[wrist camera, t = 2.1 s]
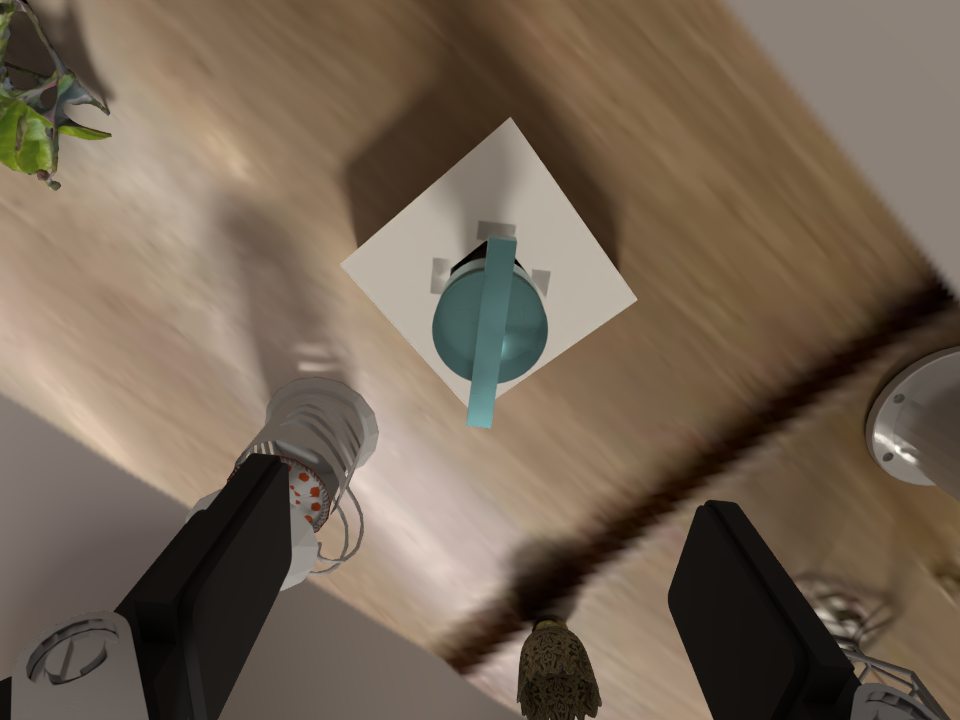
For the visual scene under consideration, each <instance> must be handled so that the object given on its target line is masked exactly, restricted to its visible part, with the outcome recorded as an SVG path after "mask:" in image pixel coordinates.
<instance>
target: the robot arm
mask: <svg viewBox="0 0 960 720" xmlns="http://www.w3.org/2000/svg"><path fill="white" fill-rule="evenodd" d="M866 443H867V448H868V450H869V452H870V454H871V456H872V458H873V459H874V461H875V462H876V463H877V464H878V465H879V466H880V467H881V468H882V469H884V470H885V471H886V472H888V473H889V474H890V475H891V476H893V477H895V478H897V479H899V480H901V481H904V482H907V483H911V484H915V485H926V486H932V485H938V486H939V487H940V488H942V489H943V490H944V491H946V492H947V493H948V494H950V495H951V496H952V497H954V498H955V499H957V500H958V501H959V502H960V346H957V347H953V348H948V349H944V350H941V351H938V352H936V353H933V354H931V355H928V356H926V357H924V358H922V359H920V360H919V361H917V362H915V363H913V364H911V365H910V366H909V367H907V368H906V369H905V370H903V371H902V372H901V373H899V374H898V375H897V376H896V377H895V378H894V379H893V380H892V381H891V382H890V383H889V384H888V385H887V386H886V387H885V388H884V389H883V391H882V392H881V394H880V395H879V396H878V398H877V399H876V401H875V403H874V405H873V407H872V409H871V411H870V413H869V417H868V420H867V424H866ZM291 561H292V540H291V516H290V491H289V468H288V464H287V463H282V462H281V459H280V457H279V456H278V455H269V454H259V453H252V454H250V455H249V456H248V458H247V459H246V460H245V461H244V463H243V464H242V465H241V466H240V468H239V469H238V470H237V471H236V473H235V474H234V475H233V476H232V478H231V479H230V480H229V481H228V483H227V484H226V485H225V486H224V488H223V489H222V490H221V491H220V493H219V494H218V495H217V497H216V498H215V499H214V500H213V502H212V503H211V504H210V505H209V507H208V508H207V509H206V510H205V509H201V510H199V511H197V512H196V513H195V514H194V515H193V516H192V517H191V518H190V519H189V520H188V522H187V523H186V524H185V525H184V526H183V528H182V529H181V530H180V531H179V533H178V534H177V535H176V536H175V537H174V539H173V540H172V541H171V542H170V543H169V545H168V546H167V547H166V548H165V550H164V551H163V552H162V553H161V555H160V556H159V557H158V558H157V559H156V561H155V562H154V563H153V564H152V565H151V567H150V568H149V569H148V570H147V571H146V573H145V574H144V575H143V576H142V578H141V579H140V580H139V581H138V582H137V584H136V585H135V586H134V587H133V589H132V590H131V591H130V592H129V593H128V595H127V596H126V597H125V598H124V600H123V601H122V602H121V603H120V604H119V606H118V607H117V608H116V609H115V610H114V612H108V611H96V612H87V613H84V614H80V615H77V616H74V617H70V618H69V619H66V620H64V621H62V622H60V623H58V624H55V625H54V626H52V627H51V628H49V629H48V630H46V631H45V632H43V633H42V634H40V635H39V636H38V637H37V638H35V640H33V641H32V642H31V643H30V644H29V645H28V646H27V647H26V648H25V649H24V650H23V652H22V653H21V655H20V656H19V658H18V660H17V661H16V663H15V666H14V670H13V674H12V676H11V677H8V678H6V679H4V680H2V681H0V720H217V719H218V718H219V716H220V713H221V711H222V709H223V707H224V705H225V703H226V701H227V699H228V697H229V695H230V692H231V691H232V689H233V687H234V684H235V682H236V680H237V678H238V676H239V674H240V672H241V670H242V668H243V666H244V664H245V662H246V659H247V657H248V655H249V653H250V651H251V649H252V647H253V645H254V643H255V641H256V639H257V637H258V634H259V632H260V630H261V628H262V626H263V624H264V622H265V620H266V618H267V616H268V614H269V612H270V609H271V607H272V605H273V603H274V601H275V599H276V597H277V595H278V593H279V591H280V589H281V587H282V585H283V582H284V580H285V578H286V576H287V574H288V572H289V569H290V566H291ZM668 605H669V609H670V612H671V614H672V617H673V619H674V622H675V624H676V627H677V629H678V632H679V634H680V637H681V639H682V642H683V644H684V647H685V649H686V652H687V654H688V657H689V659H690V662H691V664H692V667H693V669H694V672H695V674H696V677H697V679H698V682H699V684H700V687H701V689H702V692H703V694H704V697H705V699H706V702H707V704H708V707H709V709H710V712H711V714H712V717H713V719H714V720H940V719H939V718H938V717H937V716H936V715H935V714H934V713H933V712H931V711H930V710H929V709H928V708H927V707H926V706H924V705H923V704H922V703H920V702H919V701H917V700H916V699H914V698H913V697H911V696H909V695H908V694H906V693H904V692H902V691H900V690H898V689H896V688H893V687H891V686H887V685H884V684H880V683H865V684H863V685H862V684H861V682H860V681H859V679H858V678H857V677H856V675H855V674H854V672H853V671H854V669H855V667H854V666H853V665H852V663H851V662H850V661H849V659H848V658H847V656H846V655H845V654H844V652H843V651H842V649H841V648H840V647H839V645H838V644H837V642H836V641H835V640H834V638H833V637H832V635H831V634H830V633H829V631H828V630H827V628H826V627H825V626H824V624H823V623H822V621H821V620H820V619H819V617H818V616H817V614H816V613H815V612H814V610H813V609H812V607H811V606H810V605H809V603H808V602H807V600H806V599H805V598H804V596H803V595H802V593H801V592H800V591H799V589H798V588H797V586H796V585H795V584H794V582H793V581H792V579H791V578H790V577H789V575H788V574H787V572H786V571H785V570H784V568H783V567H782V565H781V564H780V563H779V561H778V560H777V558H776V557H775V556H774V554H773V553H772V551H771V550H770V549H769V547H768V546H767V544H766V543H765V542H764V540H763V539H762V537H761V536H760V535H759V533H758V532H757V530H756V529H755V528H754V526H753V525H752V523H751V522H750V521H749V519H748V518H747V517H746V515H745V514H744V512H743V511H742V510H741V508H740V507H739V506H738V505H737V504H736V503H734V502H727V501H717V500H708V501H707V502H706V503H705V504H704V506H703V505H701V506H699V507H698V508H697V510H696V513H695V516H694V519H693V521H692V524H691V527H690V530H689V533H688V536H687V539H686V542H685V545H684V548H683V551H682V554H681V557H680V560H679V563H678V565H677V568H676V571H675V574H674V577H673V580H672V583H671V586H670V589H669V593H668Z"/></svg>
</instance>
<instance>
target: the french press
mask: <svg viewBox="0 0 960 720" xmlns="http://www.w3.org/2000/svg"><path fill="white" fill-rule="evenodd" d="M378 434H379V431H378V427H377V423H376V419H375V415H374V412H373V411H372V409H371V408H370V407H369V405H368V404H367V403H366V401H365V400H364V399H363V397H362V396H361V395H360V394H358V393H357V392H355V391H354V390H352V389H351V388H349V387H347V386H346V385H344V384H343V383H341V382H337V381H333V380H329V379H325V378H320V377H315V378H306V379H298V380H295V381H293V382H291V383H289V384H288V385H286V386H284V387H283V388H281V389H279V390H278V391H277V392H276V394H275V395H274V397H273V398H272V400H271V401H270V403H269V404H268V406H267V412H266V421H265V426H264V428H263V429H262V430H261V431H260V432H259V434H258V435H257V436H256V437H255V438H254V440H253V441H252V442H251V443H250V444H249V446H248V447H247V448H246V449H245V451H244V452H243V453H242V454H241V456H240V457H239V458H238V460H237V461H236V463H235V467H234V470H233V472H232V473H231V475H230V476H229V478H228V479H227V483H228V481H229V480H230V479H231V478H232V476H233V475H234V474H235V473H236V471H237V470H238V469H239V468H240V466H241V465H242V464H243V463H244V461H245V460H246V455H247V454H248V453H249V452H250V454H252V453H254V445H256V444H257V453H259V454H262V449H261V443H263V442H264V447H265V452H266V454H269V455H271V453H270V449H269V444H268V441H271V444H272V448H273V452H274V455H278V456H279V457H280V459H281V462H282V463H287V464H288V468H289V491H290V516H291V540H292V561H291V566H290V569H289V572H288V574H287V576H286V578H285V580H284V582H283V585H282V587H281V589H280V591H282V590H285V589H287V588H289V587H291V586H293V585H296V584H298V583H300V582H302V581H303V580H304V578H305V577H306V576H307V575H308V574H310V575H314V576H320V575H325V574H329V573H330V572H332V571H333V570H335V569H336V568H337V567H338V566H339V565H340V564H341V563H342V562H345V561H346V560H348V559H349V558H350V557H351V556H353V555H354V554H355V553H356V552H357V550H358V549H359V547H360V544H361V540H362V537H363V533H364V525H363V514H362V511H361V509H360V506H359V503H358V501H357V500H356V498H355V496H354V495H353V493H352V492H351V490H350V488H349V482H350V480H351V477H352V475H353V472H354V470H355V469H357V468H359V467H361V466H363V465H364V464H365V462H366V461H367V460H368V459H369V457H370V456H371V455H372V454H373V452H374V451H375V448H376V443H377V439H378ZM347 473H348V475H347V478H346V476H345V474H347ZM339 486H340V494H339V496H338V498H337V501H336V500H335V495H336V492H337V490H338V488H339ZM345 488H346V490H347V492H348V493H349V495H350V497H351V498H352V500H353V502H354V503H355V506H356V508H357V510H358V512H359V515H360V522H361V528H360V535H359V538H358V542H357V545H356V547H355V549H354V550H353V551H352V552H351V553H350V554H349V555H347V556H346V557H344V556H345V553H346V551H347V548H348V524H347V521H346V518H345V515H344V513H343V511H342V510H341V508H340V506H339V505H338V504H339V502H340V500H341V497H342V495H343V493H344V491H345ZM221 490H222V489H220V490H218V491H216V492H214V493H212V494H210V495H208V496H206V497H204V498H202V499H200V500H199V501H198V502H197V503H196V505H195V506H194V507H193V509H192V510H191V511H190V513H189V514H188V515H187V517H186V523H187V522H188V520H189V519H190V518H191V517H192V516H193V515H194V514H195V513H196V512H197V511H199V510H201V509H205V510H206V509H207V508H208V507H209V505H210V504H211V503H212V502H213V500H214V499H215V498H216V497H217V495H218V494H219V493H220V491H221ZM332 501H333V502H334V504H335V505H334V507H333V510H332V512H331V514H332V513H333V512H334V510H335V509H336V508H337V510H338V511H339V513H340V515H341V518H342V520H343V522H344V525H345V547H344V550H343V552H342V555H341V557H340V559H335V560H330V559H327V558H323V557H322V556H321V555H320V549H321V546H322V543H321V542H317V539H316V536H315V533H316V532H318V531H319V529H320V528H321V527H322V526H323V524H324V523H325V522H326V521H327V519H328V517H329V511H330V505H331V502H332ZM331 514H330V515H331ZM316 558H318V559H319V560H320V561H321V562H327V563H332V564H335V565H333V566H332V567H331V568H329V569H328V570H324V571H319V572H313V571H311V570H312V569H313V568H314V567H315V562H316Z"/></svg>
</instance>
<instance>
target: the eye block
mask: <svg viewBox="0 0 960 720" xmlns="http://www.w3.org/2000/svg"><path fill="white" fill-rule="evenodd" d="M489 234H493V235H502V236H510V237H516V239H517V248H516V255H515V258H516V259H517V260H518V262H519V263H520V264H521V266H522V267H523V268H524V270H525V272H526V273H527V274H528V275H529V276H530V277H531V279H532V280H533V282H534V284H535V286H536V288H537V290H538V293H539V296H540V299H541V302H542V304H543V307H544V310H545V313H546V316H547V322H548V337H547V342H546V346H545V348H544V351H543V353H542V355H541V356H540V358H539V360H538V361H537V362H536V364H535V365H534V366H533V367H532V368H531V369H530V370H528V371H527V372H526V373H525V374H523V375H521V376H520V377H518V378H516V379H514V380H511V381H508V382H505V383H500V384H497V389H496V396H495V399H496V398H497V397H499V396H500V395H502V394H503V393H505V392H506V391H508V390H509V389H510V388H512V387H513V386H515V385H516V384H518V383H519V382H520V381H522V380H523V379H525V378H526V377H528V376H529V375H531V374H532V373H533V372H535V371H536V370H538V369H539V368H541V367H542V366H543V365H545V364H546V363H548V362H549V361H551V360H552V359H554V358H555V357H556V356H558V355H559V354H561V353H562V352H564V351H565V350H566V349H568V348H569V347H571V346H572V345H574V344H575V343H577V342H578V341H579V340H581V339H582V338H584V337H585V336H587V335H588V334H589V333H591V332H592V331H594V330H595V329H597V328H598V327H600V326H601V325H602V324H604V323H605V322H607V321H608V320H610V319H611V318H612V317H614V316H615V315H617V314H618V313H620V312H621V311H623V310H624V309H625V308H627V307H628V306H630V305H631V304H633V303H634V302H635V301H637V298H636V297H635V295H634V294H633V292H632V291H631V290H630V288H629V287H628V285H627V284H626V282H625V281H624V279H623V278H622V277H621V275H620V274H619V272H618V271H617V269H616V268H615V267H614V265H613V264H612V262H611V261H610V259H609V258H608V256H607V255H606V254H605V252H604V251H603V249H602V248H601V246H600V245H599V243H598V242H597V241H596V239H595V238H594V236H593V235H592V233H591V232H590V231H589V229H588V228H587V226H586V225H585V223H584V222H583V220H582V219H581V218H580V216H579V215H578V213H577V212H576V210H575V209H574V208H573V206H572V205H571V203H570V202H569V200H568V199H567V197H566V196H565V195H564V193H563V192H562V190H561V189H560V187H559V186H558V184H557V183H556V182H555V180H554V179H553V177H552V176H551V174H550V173H549V172H548V170H547V169H546V167H545V166H544V164H543V163H542V161H541V160H540V159H539V157H538V156H537V154H536V153H535V151H534V150H533V149H532V147H531V146H530V144H529V143H528V141H527V140H526V138H525V137H524V136H523V134H522V133H521V131H520V130H519V128H518V127H517V125H516V124H515V123H514V121H513V120H512V118H511V117H510V118H509V119H507V120H506V121H505V122H504V123H503V124H502V125H501V126H499V127H498V128H497V129H496V130H495V131H494V132H492V133H491V134H490V135H489V136H488V137H487V138H486V139H484V140H483V141H482V142H481V143H480V144H479V145H477V146H476V147H475V148H474V149H473V150H472V151H470V152H469V153H468V154H467V155H466V156H465V157H464V158H462V159H461V160H460V161H459V162H458V163H457V164H455V165H454V166H453V167H452V168H451V169H450V170H449V171H447V172H446V173H445V174H444V175H443V176H442V177H440V178H439V179H438V180H437V181H436V182H435V183H433V184H432V185H431V186H430V187H429V188H428V189H427V190H425V191H424V192H423V193H422V194H421V195H420V196H418V197H417V198H416V199H415V200H414V201H413V202H412V203H410V204H409V205H408V206H407V207H406V208H405V209H403V210H402V211H401V212H400V213H399V214H398V215H396V216H395V217H394V218H393V219H392V220H391V221H390V222H388V223H387V224H386V225H385V226H384V227H383V228H381V229H380V230H379V231H378V232H377V233H376V234H375V235H373V236H372V237H371V238H370V239H369V240H368V241H366V242H365V243H364V244H363V245H362V246H361V247H359V248H358V249H357V250H356V251H355V252H354V253H353V254H351V255H350V256H349V257H348V258H347V259H346V260H344V261H343V262H342V263H341V264H340V266H341V267H342V268H343V269H344V270H345V271H346V272H347V274H348V275H349V276H350V277H351V278H352V279H353V280H354V281H355V283H356V284H357V285H358V286H359V287H360V288H361V289H362V290H363V291H364V293H365V294H366V295H367V296H368V297H369V298H370V299H371V300H372V302H373V303H374V304H375V305H376V306H377V307H378V308H379V309H380V310H381V312H382V313H383V314H384V315H385V316H386V317H387V318H388V319H389V321H390V322H391V323H392V324H393V325H394V326H395V327H396V328H397V329H398V331H399V332H400V333H401V334H402V335H403V336H404V337H405V338H406V340H407V341H408V342H409V343H410V344H411V345H412V346H413V347H414V349H415V350H416V351H417V352H418V353H419V354H420V355H421V356H422V357H423V359H424V360H425V361H426V362H427V363H428V364H429V365H430V366H431V368H432V369H433V370H434V371H435V372H436V373H437V374H438V375H439V376H440V378H441V379H442V380H443V381H444V382H445V383H446V384H447V385H448V387H449V388H450V389H451V390H452V391H453V392H454V393H455V394H456V395H457V397H458V398H459V399H460V400H461V401H462V402H463V403H464V404H465V406H466V407H467V408H468V404H469V396H470V388H471V381H469V380H466V379H464V378H462V377H460V376H459V375H457V374H455V373H454V372H453V371H452V370H450V369H449V368H448V367H447V366H446V365H445V363H444V362H443V361H442V360H441V358H440V356H439V355H438V353H437V350H436V348H435V345H434V341H433V336H432V323H433V317H434V314H435V311H436V308H437V305H438V302H439V299H440V296H441V293H442V291H443V288H444V286H445V284H446V282H447V281H448V279H449V278H450V276H451V275H452V274H453V273H454V272H455V271H454V266H455V265H456V264H457V263H458V262H460V261H461V260H462V259H463V258H465V257H466V256H467V255H468V254H470V253H471V252H472V251H473V250H475V249H476V248H477V247H478V246H480V245H481V244H482V243H483V242H485V241H488V237H489Z"/></svg>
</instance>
